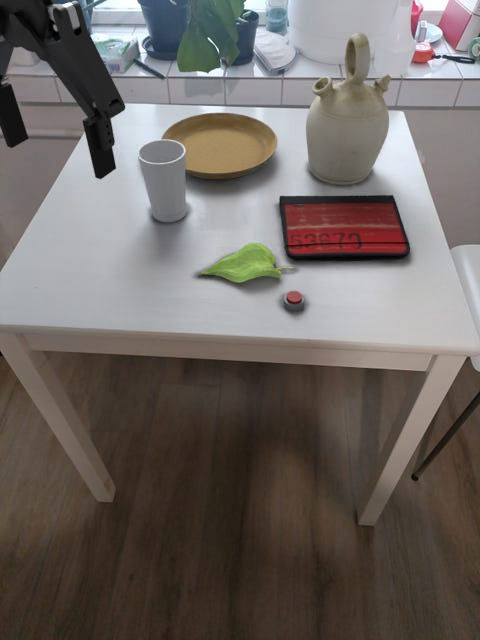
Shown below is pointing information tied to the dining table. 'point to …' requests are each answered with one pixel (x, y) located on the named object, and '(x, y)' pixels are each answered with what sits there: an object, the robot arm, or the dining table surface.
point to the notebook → (342, 228)
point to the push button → (293, 300)
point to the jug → (347, 120)
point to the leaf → (246, 264)
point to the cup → (164, 178)
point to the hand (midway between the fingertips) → (60, 157)
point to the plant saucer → (223, 144)
